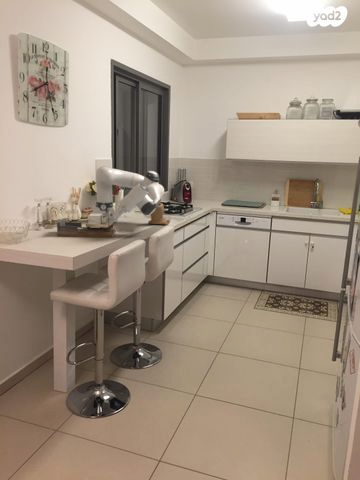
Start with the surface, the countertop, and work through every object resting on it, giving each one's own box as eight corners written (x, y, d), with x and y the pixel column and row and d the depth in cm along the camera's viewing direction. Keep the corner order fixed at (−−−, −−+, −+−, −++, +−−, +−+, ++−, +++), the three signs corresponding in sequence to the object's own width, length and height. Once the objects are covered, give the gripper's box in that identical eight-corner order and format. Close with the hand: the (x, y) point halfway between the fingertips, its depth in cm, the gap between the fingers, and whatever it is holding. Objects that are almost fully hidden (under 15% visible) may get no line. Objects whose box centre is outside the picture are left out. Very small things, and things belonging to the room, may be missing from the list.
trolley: (88, 226, 252) (88, 207, 249) (110, 227, 253) (110, 208, 250) (85, 229, 242) (85, 209, 240) (107, 230, 243) (108, 210, 240)
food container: (108, 227, 272) (108, 212, 270) (114, 228, 269) (114, 213, 267) (93, 229, 263) (93, 214, 261) (100, 231, 259) (100, 215, 257)
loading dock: (63, 231, 254) (63, 218, 253) (115, 232, 256) (115, 220, 254) (57, 236, 240) (57, 222, 238) (112, 237, 241) (112, 224, 240)
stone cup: (146, 225, 288) (146, 203, 284) (149, 222, 299) (150, 202, 296) (167, 226, 286) (168, 205, 283) (170, 223, 297) (171, 203, 294)
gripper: (128, 211, 235) (111, 228, 236) (130, 207, 255) (115, 222, 256) (120, 203, 234) (103, 220, 235) (123, 199, 254) (108, 215, 255)
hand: (109, 221), depth 246 cm, fingers closed
